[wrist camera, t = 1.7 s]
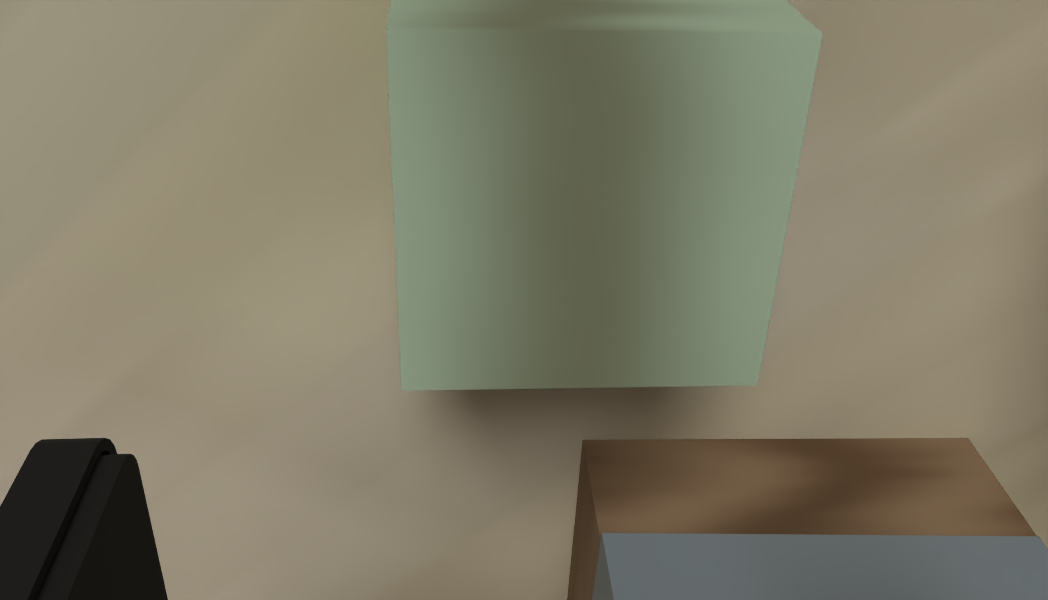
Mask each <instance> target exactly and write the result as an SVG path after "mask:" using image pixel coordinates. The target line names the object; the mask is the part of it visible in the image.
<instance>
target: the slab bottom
mask: <svg viewBox="0 0 1048 600" xmlns="http://www.w3.org/2000/svg"><path fill="white" fill-rule="evenodd" d="M602 533H677V534H805V535H933V536H1036V534H1035V533H1034V531H1033V530H1032V529H1031V527H1030V526H1029V524H1028V523H1027V521H1026V520H1025V519H1024V517H1023V516H1022V514H1021V513H1020V511H1019V510H1018V509H1017V507H1016V506H1015V504H1014V503H1013V501H1012V500H1011V499H1010V497H1009V496H1008V494H1007V493H1006V491H1005V490H1004V489H1003V487H1002V486H1001V484H1000V483H999V481H998V480H997V479H996V477H995V476H994V474H993V473H992V471H991V470H990V469H989V467H988V466H987V464H986V463H985V461H984V460H983V459H982V457H981V456H980V454H979V453H978V451H977V450H976V449H975V447H974V446H973V444H972V443H971V442H970V440H969V439H968V438H886V439H685V440H583V443H582V453H581V464H580V474H579V484H578V495H577V505H576V515H575V526H574V536H573V546H572V557H571V567H570V577H569V588H568V598H567V600H592V596H593V589H594V583H595V576H596V569H597V562H598V556H599V549H600V542H601V535H602Z"/></svg>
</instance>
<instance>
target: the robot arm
mask: <svg viewBox="0 0 1048 600" xmlns="http://www.w3.org/2000/svg"><path fill="white" fill-rule="evenodd" d="M0 600H168V598H167V594H166V589H165V585H164V580H163V576H162V571H161V567H160V562H159V558H158V553H157V548H156V544H155V539H154V535H153V530H152V526H151V521H150V517H149V512H148V507H147V503H146V498H145V494H144V489H143V485H142V480H141V476H140V471H139V467H138V463H137V460H136V458H135V457H134V455H132V454H117V452H116V449H115V446H114V444H113V443H112V442H111V440H110V439H107V438H86V439H46V440H40V441H39V442H37V443H36V444H35V445H34V446H33V448H32V449H31V450H30V452H29V454H28V456H27V458H26V460H25V461H24V463H23V465H22V467H21V469H20V471H19V473H18V474H17V476H16V478H15V480H14V482H13V484H12V486H11V487H10V489H9V491H8V493H7V495H6V497H5V499H4V501H3V502H2V504H1V506H0Z"/></svg>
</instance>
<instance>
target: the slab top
mask: <svg viewBox="0 0 1048 600" xmlns="http://www.w3.org/2000/svg"><path fill="white" fill-rule="evenodd" d="M592 600H1048V549H1047V547H1046V546H1045V544H1044V543H1043V542H1042V540H1041V539H1040V537H1039V536H933V535H805V534H677V533H602V535H601V542H600V549H599V556H598V562H597V569H596V576H595V583H594V589H593V596H592Z"/></svg>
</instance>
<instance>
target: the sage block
mask: <svg viewBox="0 0 1048 600" xmlns="http://www.w3.org/2000/svg"><path fill="white" fill-rule="evenodd" d="M822 35H823V33H822V32H821V31H820V30H818V29H817V28H816V27H815V26H814V25H813V24H812V23H811V22H810V21H808V20H807V19H806V18H805V17H804V16H803V15H802V14H801V13H800V12H798V11H797V10H796V9H795V8H794V7H793V6H792V5H791V4H790V3H788V2H787V1H786V0H391V5H390V11H389V16H388V21H387V26H386V39H387V63H388V86H389V110H390V133H391V157H392V180H393V204H394V227H395V251H396V274H397V298H398V321H399V345H400V368H401V391H410V390H478V389H546V388H615V387H683V386H752V385H758V381H759V375H760V370H761V364H762V359H763V354H764V348H765V343H766V337H767V332H768V327H769V321H770V316H771V310H772V305H773V300H774V294H775V289H776V283H777V278H778V273H779V267H780V262H781V257H782V251H783V246H784V240H785V235H786V230H787V224H788V219H789V213H790V208H791V203H792V197H793V192H794V186H795V181H796V176H797V170H798V165H799V159H800V154H801V149H802V143H803V138H804V133H805V127H806V122H807V116H808V111H809V106H810V100H811V95H812V89H813V84H814V79H815V73H816V68H817V62H818V57H819V52H820V46H821V41H822Z"/></svg>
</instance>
